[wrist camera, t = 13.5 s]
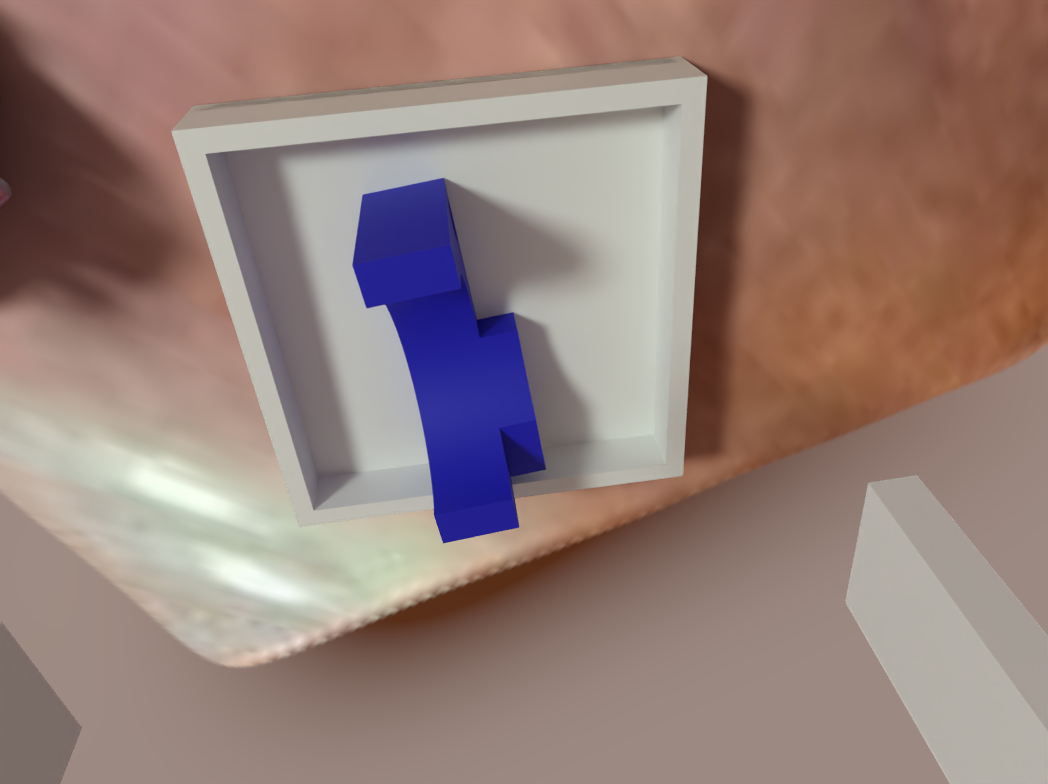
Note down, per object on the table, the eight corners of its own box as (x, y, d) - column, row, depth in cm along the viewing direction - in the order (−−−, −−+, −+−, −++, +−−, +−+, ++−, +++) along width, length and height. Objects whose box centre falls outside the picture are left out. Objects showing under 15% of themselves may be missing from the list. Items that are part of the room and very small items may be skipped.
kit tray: (681, 56, 28) (707, 75, 25) (665, 435, 37) (682, 475, 35) (193, 105, 27) (171, 130, 24) (306, 481, 36) (299, 526, 34)
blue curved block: (536, 426, 35) (557, 519, 30) (438, 447, 35) (443, 543, 30) (484, 168, 28) (499, 234, 23) (362, 194, 28) (352, 264, 23)
